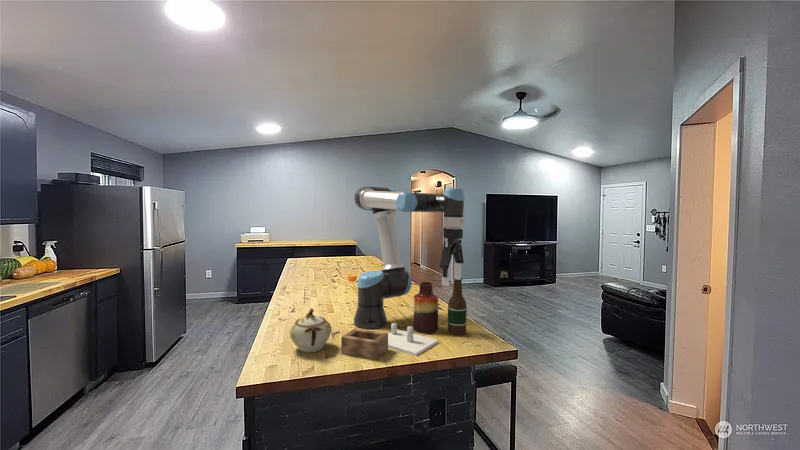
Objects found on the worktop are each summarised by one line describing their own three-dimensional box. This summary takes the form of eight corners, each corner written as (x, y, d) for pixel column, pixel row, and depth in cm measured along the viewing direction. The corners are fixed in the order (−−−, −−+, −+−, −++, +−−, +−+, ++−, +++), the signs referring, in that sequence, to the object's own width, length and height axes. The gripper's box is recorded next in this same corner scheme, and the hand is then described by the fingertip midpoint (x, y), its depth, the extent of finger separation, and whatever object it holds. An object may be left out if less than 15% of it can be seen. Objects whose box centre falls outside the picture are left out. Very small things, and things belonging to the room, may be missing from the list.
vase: (409, 331, 148) (410, 284, 147) (417, 324, 158) (418, 279, 157) (434, 335, 144) (434, 286, 143) (440, 327, 154) (441, 281, 153)
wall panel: (373, 342, 134) (373, 326, 134) (397, 331, 147) (397, 316, 147) (415, 355, 122) (416, 337, 122) (438, 342, 135) (438, 326, 135)
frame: (341, 353, 124) (341, 337, 124) (354, 343, 133) (354, 328, 133) (376, 359, 119) (376, 342, 119) (388, 349, 128) (388, 333, 128)
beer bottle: (465, 337, 142) (467, 279, 141) (446, 335, 143) (447, 278, 142) (466, 330, 149) (467, 275, 148) (448, 329, 151) (449, 274, 150)
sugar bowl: (335, 355, 122) (335, 313, 121) (291, 361, 117) (291, 318, 116) (327, 336, 140) (327, 300, 140) (288, 341, 135) (288, 303, 134)
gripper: (451, 230, 121) (449, 289, 122) (472, 227, 143) (470, 277, 144) (431, 229, 125) (430, 287, 126) (454, 226, 146) (453, 275, 148)
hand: (451, 282), depth 135 cm, fingers open, 13 cm apart
